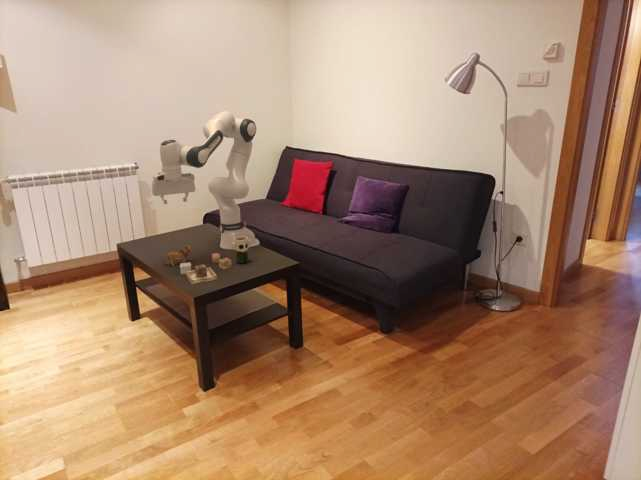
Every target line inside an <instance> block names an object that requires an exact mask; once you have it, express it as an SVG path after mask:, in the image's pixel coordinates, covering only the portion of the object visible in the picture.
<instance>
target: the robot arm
mask: <svg viewBox="0 0 641 480" xmlns="http://www.w3.org/2000/svg"><path fill="white" fill-rule="evenodd" d="M202 127H203V128H202V132H203V135H204V137H205V138H206V140H205V141H204V142H203V143H202V144H201V145H198V146H197V145H196V146H194V145H192V146H191V145H185V144H182V143H180V142H178V141H177V140H176V139H168V140H164V141H163V142H161V143H160V147H159V155H160V162H161V165H162V166H161V171H159V172H157V173H155V174H152V179H153V180H152V183H151V192H152V195H153V196H154V197H159V196H160V198H161V200H162V201H163V205H167V204H168V200H167V199H165V198H164V197H165V196H168V195H177V194H178V195H179V194H184V197H182V202H184V203H186V202H187V201H188V196H189V193H194V192H195V191H196V184H195V175H194V174H193V173H192V172H189V173H182V166H186V167H187V166H188V167H193V168H197V169H200V168H203V167H204V166H205V165H206V164H207V163H208V160H209V159H210V157H211V155H212V154H213V153H214V151H216V149H217V148H218V147H219V146H220V145H221V144H222V142H223V140H224V137H225V138H228V139H233V145H232V147H231V150H230V151H229V154H228V157H227V160H226V164H225V166H226V169H227V170H228V177H225V176H216V177H215V176H214V177H212V178H211V179H210V180H209V181H208V185H207V186H208V187H207V188H208V191H209V192H210V194H211V195H212V196H213V197H214V199H215V201H216V204H217V207H218V209H219V217H220V222H219V224H220V225H219V229H220V244H219V247H220V248H221V249H224V250H231V251H232V250H233V251H236V250H235V249H232V243H234V238H235V237H238V236H246V237H248V240H251V245H250V246H249V248H252V247H257V246H259V245H261V244H260V241H259V239H258V238H256V237H255V236H256V235H255V233H254V232H253V231H252V230H250V229H249V228H248V227H246V226H248V225H247V222H246V221H244V220H242V219H241V209H240V206H239V205H238V204H237V203H236V201H235V200H242V199H245V198H246V197H247V196H248V194H249V191H250V190H249V189H250V186H249V185H248V183H247V181H246V170H247V167H248V163H249V161H250V157H251V154H252V150H253V140H254V138H255V136H256V133H257V126H256V122H255V121H254V120H251V119H250V118H243V117H242V118H241V117H235V116H234V115H233V114H232V113H231V112H230V111H227V110H223V111H220V112H218V113H217V114H215V115H214V116H212V117H210V118H209V119H208V121H205V123H204V124H203V126H202ZM248 244H249V242H248ZM233 246H234V245H233ZM234 247H235V246H234Z"/></svg>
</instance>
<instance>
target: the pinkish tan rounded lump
mask: <svg viewBox="0 0 641 480" xmlns="http://www.w3.org/2000/svg"><path fill="white" fill-rule="evenodd" d="M220 259H221V255H220V253H218V252H213V253H211V261H212V262H211V263H213V264H219V260H220Z"/></svg>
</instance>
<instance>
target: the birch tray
mask: <svg viewBox="0 0 641 480" xmlns="http://www.w3.org/2000/svg"><path fill="white" fill-rule="evenodd" d="M206 268H207V277H202V278H197V277H196V274H195V269H193V270H191V271H187V272H186V274H185V276H186V278H187V279H188V281H189V282H190V284H191V285H195V284H200V283H206V282H211V281H217V280H218V276H217V274H216V273H215V271H214V269H212V267H206Z"/></svg>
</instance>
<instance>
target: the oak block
mask: <svg viewBox="0 0 641 480" xmlns="http://www.w3.org/2000/svg"><path fill="white" fill-rule="evenodd" d="M218 267H219V268H220V269H222V270H227V269H231V268H232V259H230V258H228V257H225V258H224V257H223V258H220V260H219V263H218Z"/></svg>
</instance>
